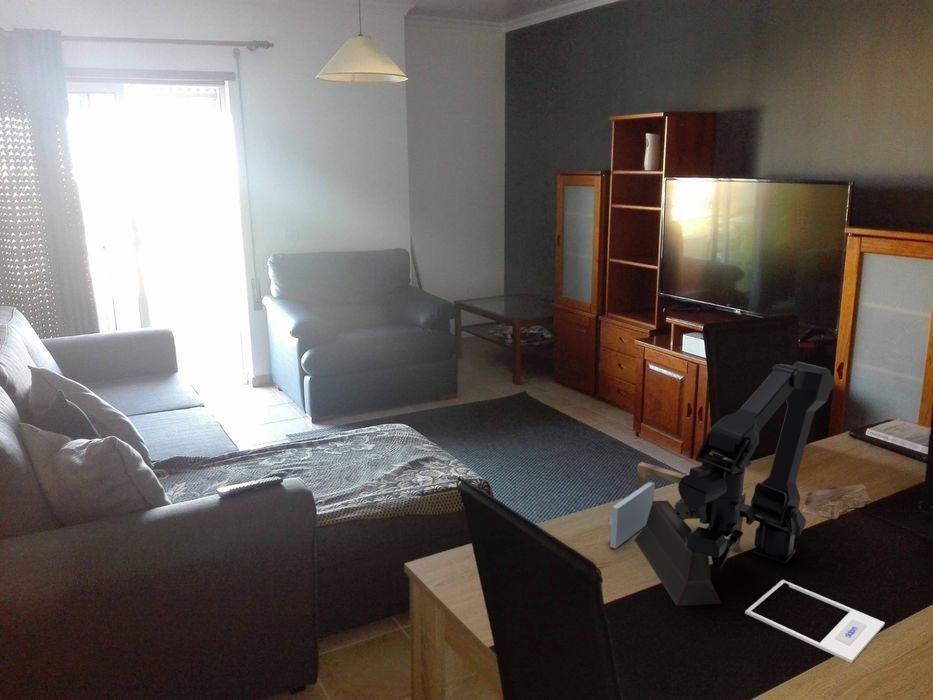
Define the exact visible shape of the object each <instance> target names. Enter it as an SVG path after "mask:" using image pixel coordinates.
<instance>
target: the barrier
mask: <svg viewBox="0 0 933 700" xmlns="http://www.w3.org/2000/svg"><path fill="white" fill-rule="evenodd" d="M674 510H675V507H674V505H673V504H671V503H670V502H669V500H654V501H653V502H652V506H651V509H650V513H649V516H648V520H647V523H646V525H645V526H644V527H643V528H641V530H640V532H639V533H638V534H637V536H636V537H635V539H634V542H635V544H636V545H637V546H638V548H639V550H640V551H641V552H642V555H643V556H644V558H645V559H646V561H647V562H648V564H649V565H650V567H651V569H652V570H653V571H654V573H655V574H656V576H657V578H658V579H659V581H660V582H661V584H662V585H663V587H664V588H665V590H666V592H667V593H668V595H669V596H670V598H671V600H672V601H673V603H674V604H675V605H676V606H677V607H682V606H685V607H686V606H699V605H715V604H716V605H717V604H722V602H721V599H720V597H719V596H718V593H717V591H716V589H715V587H714V585H713V583H712V579H711V578H712V577H711V570H710V569H711V567H710V558H709V557H710V556H708V555H706V554H703V553H700V552H697V551H694V550H692V549H689V548H687V547H686V546H685V542H686V536H687V535H688V534H689V533H690V532H691V531H692V528H691V527H690V526H689V525H688V523H687V522H686V521H685V520H680V519H679V518H678V517H677V516H676V514H674Z"/></svg>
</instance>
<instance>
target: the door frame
mask: <svg viewBox="0 0 933 700" xmlns="http://www.w3.org/2000/svg"><path fill="white" fill-rule="evenodd" d="M636 467H637V468H636V470H637V471H636V480H635V481H636V482H635V483H636V484H635V491H636V490H638V489H639V488H641V487H642V486H644V485H645V484H646V483H648V482H649V481H650V476H652V477H655V478H659V479H662V480H665V481H669V482H671V483H675V484H678V485H679V483H680V481H681V479H682V478H683V477H684V476H686V475H687V474H684V473H681V472H679V471H678V472H677V471H674V470H670V469H667V468H664V467H660V466H657V465H654V464H649V463H648V462H647V463H646V462H645V461H644V462H643V461H641V462H639V463H638V464H637V466H636ZM746 494H747V493H746V492H744V491H742V496H745V497H746ZM744 504H746V501H745V502H744ZM742 527H743V522H742V523H741V524H740V525H739V526H738V527H737V528H736V530H739V531H742ZM740 544H741V538H740V539H739V541H738V542H737V544H736V545H735V547H734V548H733V550H732V551H731V552H734V553H736V552H737V551H738V550H739V549H740V546H741V545H740Z"/></svg>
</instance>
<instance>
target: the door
mask: <svg viewBox="0 0 933 700" xmlns="http://www.w3.org/2000/svg"><path fill="white" fill-rule="evenodd" d="M655 485H656V482H655V481H652V480H649V482H648V483H646V484H645V485H644V486H642V487H641V488H639V489H638V490H636V489H635V491H634V492H632V493H631V494H629V495H628V496H626V497H625V498H623V499H622V500H621V501H619V502H617V503H616V504H614V505H613V506H612V512H611V514H612V515H611V516H610V517H609V518H608V522H607V523H608V525H611V527H610V528H611V529H610V543H609V545H610V548H611V549H617V548H618V547H620V546H621V545H622V544H623V543H625V542H626V541H628V540H629V539H630V538H631V537H633V536H634V535H635V534H637V533H638V532H639V531H641V530H642V529H643V528H644V527H645V526H646V523H647V520H648V516H649V513H650V509H651V506H652V502H653V501H655V499H654V498H655V487H656V486H655Z"/></svg>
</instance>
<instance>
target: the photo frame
mask: <svg viewBox="0 0 933 700" xmlns="http://www.w3.org/2000/svg"><path fill="white" fill-rule="evenodd" d="M784 584H786V585H788V587H789V588H791V589H793V590H796V591H798V592H801V593H803V594H805V595H808V596H810V597H812V598H814V599H817V600H819V601H822V602H824V603H827V604H829V605H831V606H833V607H836V608H838V609H840V610H843V611H845V612H848V613H847V614H846V615H845V616H844V617H843V618H842V619H841V620H840V621H839V622H838V624H836V625H835V626H834V628H833V629H831V631H830V632H829V633H828V634H827V635H826V636H825V637H824V638H823V639H822V640H821V641H820V642H818V641H816V640H814V639H812V638H811V637H808V636H806V635H804V634H801V633H799V632H797V631H795V630H793V629H791V628H788V627H786V626H784V625H782V624H779V623H777V622H775V621H773V620H772V619H769V618H766V617H764V616H763V615H761V614H758V613H756V612H754V611H753V610H754V609H755V608H756V607H757V606H759V605H760V604H761V603H762V602H764V601H765V600H766V599H767V598H768V597H770V595H771V594H773V593H774V592H775V591H776V590H777V589H779V588H780V587H781V586H782V585H784ZM744 614H746V615H748V616H749V617H752V618H753V619H756V620H759V621H761V622H762V623H765V624H766V625H769V626H771V627H773V628H775V629H778V630H779V631H782V632H784V633H786V634H788V635H790V636H792V637H795V638H797V639H799V640H801V641H804V642H805V643H808V644H810V645H812V646H814V647H815V648H818V649H820V650H822V651H825V652H827V653H829V654H831V655H833V656H836V657H838V658H839V659H842V660H844V661H846V662H848V663H850V664H852V663H853V662H854V661H855V660H856V658H857V657H858V656H859V655H860V654H861V653H862V651H863V650H864V649H865V648H866V646H868V645H869V644H870V643H871V641H872V640H873V639H874V638H875V637H876V636H877V634H878V633H879V632H880V631H881V629H882V628H883V627H884V626H885V623H886V622H885V621H882V620H880V619H878V618H875V617H873V616H870V615H868V614H866V613H863V612H861V611H859V610H857V609H854V608H851V607H849V606H846V605H844V604H842V603H840V602H838V601H835V600H832V599H830V598H827V597H825V596H822V595H820V594H818V593H816V592H813V591H810V590H808V589H806V588H803V587H801V586H799V585H796V584H794V583H792V582H789V581H787V580H785V579H781V580H780V581H779V582H778V583H776V585H774V586H772V588H771V589H769V591H767V592H765V594H763V595H762V596H761V597H760V598H758V599H757V601H755V602H754V603H753V604H751V606H749V607H748V608H747V609H746V610H745V612H744Z"/></svg>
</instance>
